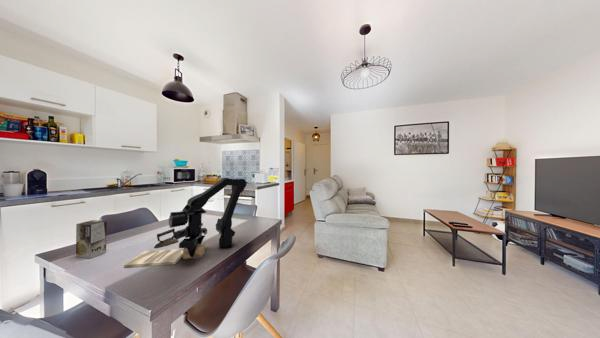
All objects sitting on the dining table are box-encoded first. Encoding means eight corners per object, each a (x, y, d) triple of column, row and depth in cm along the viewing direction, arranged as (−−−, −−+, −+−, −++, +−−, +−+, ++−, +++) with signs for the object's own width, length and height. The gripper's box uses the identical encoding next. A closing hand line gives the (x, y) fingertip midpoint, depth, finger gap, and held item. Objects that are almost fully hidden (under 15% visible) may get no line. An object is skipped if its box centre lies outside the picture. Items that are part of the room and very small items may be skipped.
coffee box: (107, 252, 89) (107, 220, 89) (90, 258, 83) (91, 224, 83) (92, 250, 90) (93, 219, 90) (74, 257, 84) (75, 223, 84)
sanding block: (204, 253, 90) (204, 243, 90) (201, 258, 85) (201, 248, 85) (187, 254, 88) (187, 244, 88) (182, 259, 83) (183, 249, 83)
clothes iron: (180, 242, 104) (177, 227, 102) (159, 254, 94) (156, 238, 91) (172, 239, 106) (169, 224, 104) (151, 251, 96) (147, 235, 94)
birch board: (187, 250, 92) (187, 248, 92) (175, 264, 79) (175, 261, 79) (144, 253, 88) (144, 251, 88) (123, 267, 76) (123, 265, 76)
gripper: (185, 218, 94) (185, 247, 94) (166, 230, 76) (165, 265, 76) (207, 217, 97) (207, 245, 96) (193, 229, 78) (193, 263, 78)
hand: (194, 254), depth 87 cm, fingers closed on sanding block, 5 cm apart
